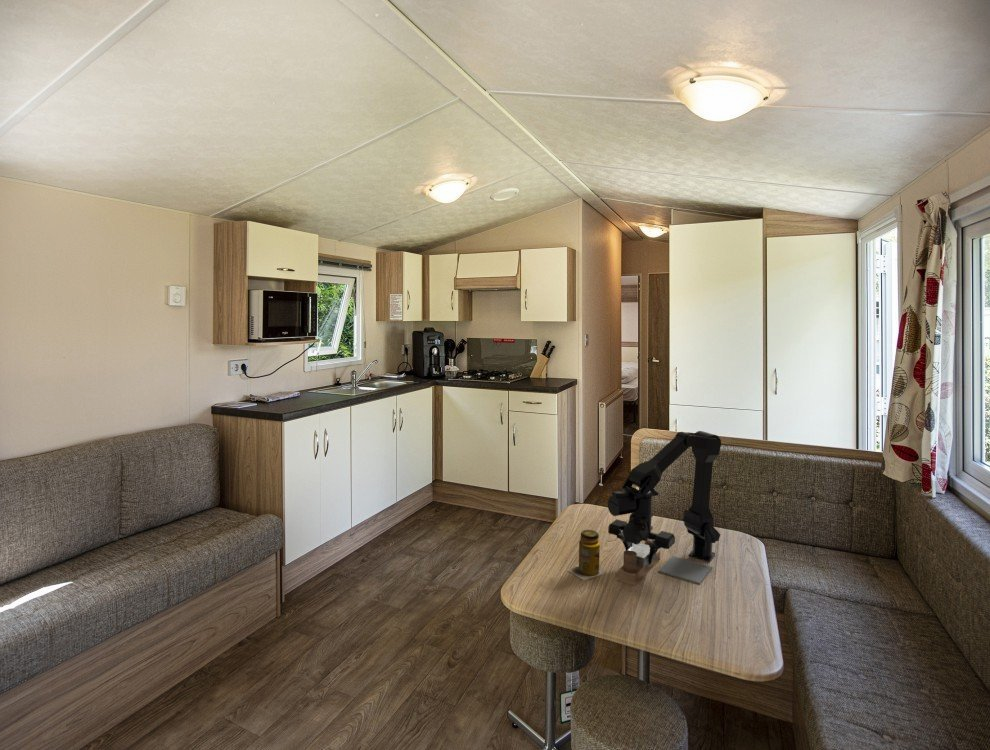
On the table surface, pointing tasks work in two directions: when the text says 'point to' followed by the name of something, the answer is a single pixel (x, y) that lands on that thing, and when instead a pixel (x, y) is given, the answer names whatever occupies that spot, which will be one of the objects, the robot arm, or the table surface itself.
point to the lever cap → (641, 554)
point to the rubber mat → (685, 569)
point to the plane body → (634, 566)
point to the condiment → (588, 556)
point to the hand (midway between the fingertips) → (639, 560)
